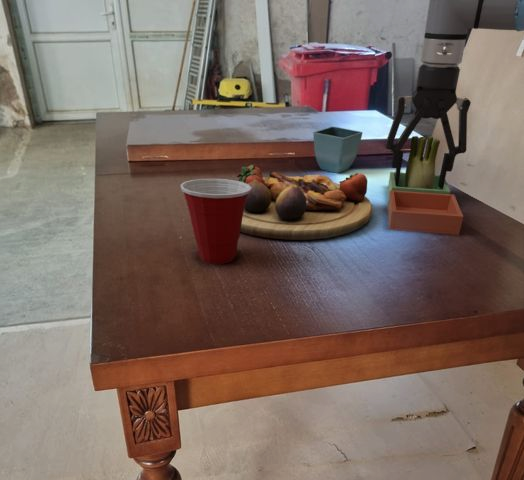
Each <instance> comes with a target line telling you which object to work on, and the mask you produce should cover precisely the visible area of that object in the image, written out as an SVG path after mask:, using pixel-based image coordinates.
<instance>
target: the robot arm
mask: <svg viewBox="0 0 524 480" xmlns="http://www.w3.org/2000/svg"><path fill="white" fill-rule="evenodd" d="M428 2H429V3H428V9H427V16H426V22H425V23H426V24H425V29H424V35H423V42H422V48H421V52H420V53H421V54H420V62H421V63H422V64H421V65H420V66H418V73H417V78H416V84H415V88H414V91H413V93H412V95H402V94H401V95H399V96H398V97H397V109H396V112H395V115H394V118H393V120H392V123H391V127H390V129H389V132H388V135H387V137H386V141H385V148H386V149H388V150H390V151H392V159H391V168H392V169H395V172H396V173H395V184H396V186H398V184H399V178H400V173H401V171H402V170H401V169H402V164H403V159H404V151H403V150H402V149H403V147H404V146H405V144H406V143H407V141H408V139H409V138H410V136H411V135H412V133H413V131H414V130H415V128H416V126H417V125H418V124H419V123H420V122H421V120H422V119H434V120H440V123H441V126H442V130H443V134H444V138H445V142H446V146H447V149H448V150H447V151H448V152H444V153H443V158H442V164H441V169H440V174H439V175H440V177H439V182H438V186H439V188H443V187H444V182H445V179H446V176H447V172H449V173H450V172H452V171H453V168H454V164H455V160H456V157H457V156H458V155H460V154H465V153H466V152H467V144H468V143H467V142H468V141H467V139H468V137H467V136H468V128H467V127H468V112H469V110H470V108H471V107H470V106H471V103H472V102H471V101H470V100H469V99H470V98H467V97H463V98H462V97H458V95H457V87H458V82H459V78H460V73H461V68H460V67H459V65H460V64H461V63H462V62H463V56H464V52H465V46H466V41H467V37H468V33H469V29H473V30H479V29H480V30H495V31H496V30H497V31H498V30H499V31H516V32H523V31H524V0H429V1H428ZM410 103H412V104H413V106H414V109H415V112H414V113H413V114H412V117H411V118H410V120H409V121H408V123H407V125H406V127H404V129H403V131H402V133H401V135H400V136H399V137H398V139H397V141H396V142H394V141H395V139H396V136H397V133H398V131H399V128H400V124H401V122H402V119H403V116H404V113H405V109H407V108H408V107H409V106H410ZM455 105H456V109H457V110H458V144H457V146H456V145H455V141H454V138H453V133H452V129H451V128H452V127H451V124H450V121H449V116H448V112H449V111H450V110H451V109H452V108H453V107H454V106H455Z"/></svg>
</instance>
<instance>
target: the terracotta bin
mask: <svg viewBox="0 0 524 480" xmlns="http://www.w3.org/2000/svg"><path fill="white" fill-rule="evenodd" d="M387 200H388V201H387V205H386V209H387V221H388V230H391V231H392V230H393V231H404V232H405V231H406V232H414V233H415V232H417V233H429V234H442V235H454V236H460V232H461V228H462V224H463V220H464V215H463V211H462V209H461V208H460V206H459V202H458V201H457V198H456V195H455V194H452V193H450V194H437V193H423V192H408V191H394V190H390V193H389V194H388V199H387Z"/></svg>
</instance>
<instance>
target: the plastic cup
mask: <svg viewBox="0 0 524 480" xmlns="http://www.w3.org/2000/svg"><path fill="white" fill-rule="evenodd" d="M179 186H180V189H181V192H183V194H184V199H185V202H186V204H187V209H188V213H189V217H190V223H191V227H192V230H193V235H194V239H195V242H196V246H197V250H198V251H197V252H198V255H199V257H200V260H202V262H204V263H208V264H210V265H211V264H213V265H222V264H227V263H230V262H232V261H233V260H234V259H235V258H236V255H237V252H238V251H237V250H238V244H239V240H240V235H241V232H240V230H241V224H242V218H243V212H244V207H245V203H246V200H247V196H248V194H249V192H250V191H251V188H252V187H251V186H250V185H249V184H246V183H243V182H240V181H238V180H234V179H226V178H197V179H191V180H187V181H183V182H182V183H181V184H180V185H179Z"/></svg>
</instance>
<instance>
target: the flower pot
mask: <svg viewBox="0 0 524 480" xmlns="http://www.w3.org/2000/svg"><path fill="white" fill-rule="evenodd" d="M312 134H313V149H314V157H315V160H316V162H317V165H318V166H319V168H320V170H322V171H327V172H330V173H335V174H340V173H342V172H344V171H347V170H349V169H350V168H351V166H352V165H353V163H354V162H355V160H356V158H357V155H358V153H359V149H360V145H361V141H362V137H363V131H359V130H354V129H348V128H343V127H338V126H329V127H326V128H323V129H320V130H316V131H313V133H312Z"/></svg>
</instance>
